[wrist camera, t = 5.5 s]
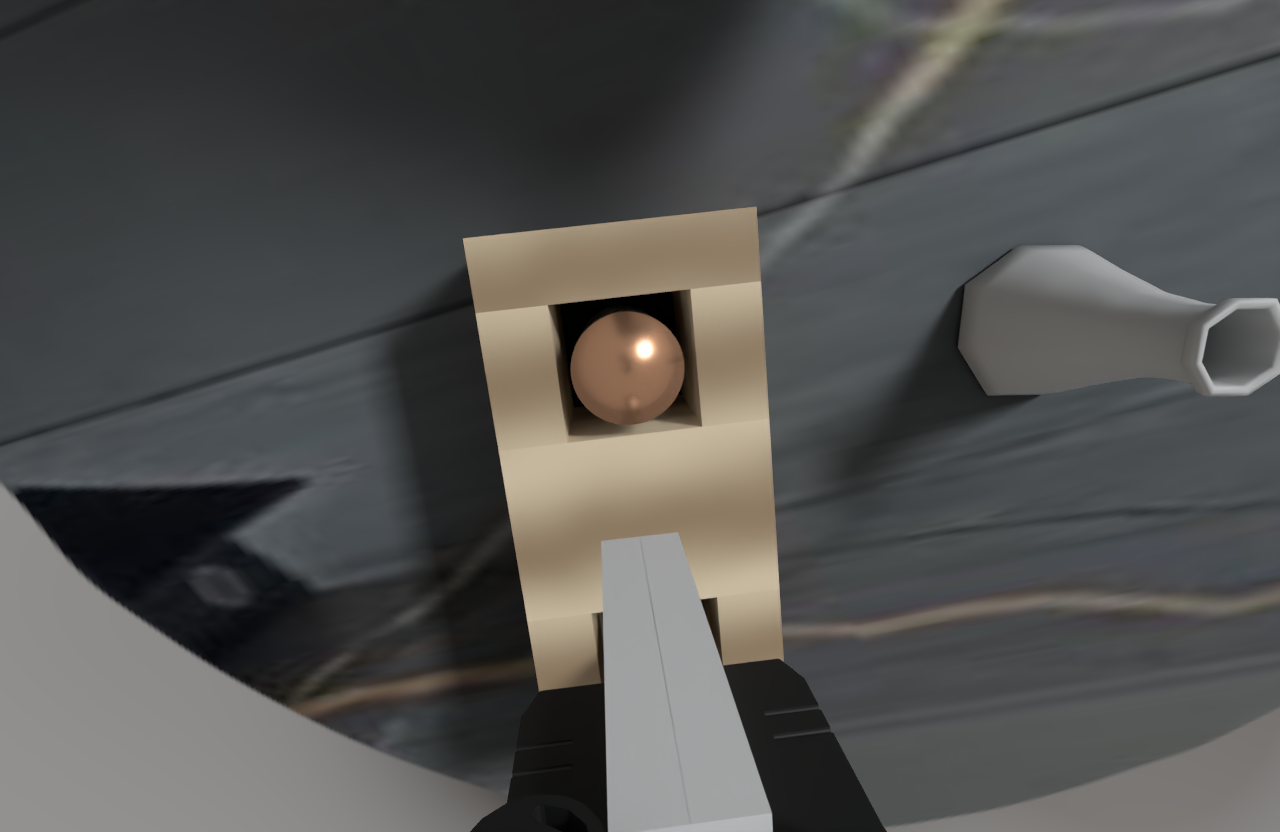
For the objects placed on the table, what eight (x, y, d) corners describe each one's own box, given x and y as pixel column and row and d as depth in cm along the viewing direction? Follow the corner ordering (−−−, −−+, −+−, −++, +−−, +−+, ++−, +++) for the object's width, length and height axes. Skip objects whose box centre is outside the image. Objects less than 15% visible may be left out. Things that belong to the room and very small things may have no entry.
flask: (969, 417, 30) (1146, 489, 20) (938, 271, 28) (1117, 273, 18) (1113, 368, 30) (1360, 417, 20) (1091, 219, 28) (1351, 193, 18)
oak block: (493, 245, 27) (462, 238, 21) (722, 220, 27) (756, 206, 21) (562, 687, 32) (554, 780, 26) (754, 661, 32) (788, 748, 26)
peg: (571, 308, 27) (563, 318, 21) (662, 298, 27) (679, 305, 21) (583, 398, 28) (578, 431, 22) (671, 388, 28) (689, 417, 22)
